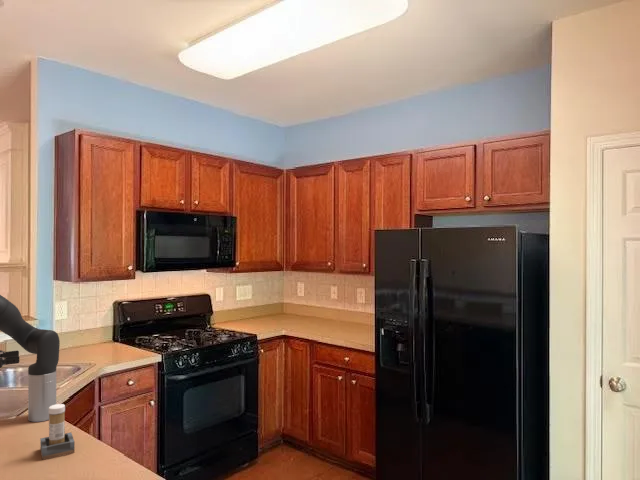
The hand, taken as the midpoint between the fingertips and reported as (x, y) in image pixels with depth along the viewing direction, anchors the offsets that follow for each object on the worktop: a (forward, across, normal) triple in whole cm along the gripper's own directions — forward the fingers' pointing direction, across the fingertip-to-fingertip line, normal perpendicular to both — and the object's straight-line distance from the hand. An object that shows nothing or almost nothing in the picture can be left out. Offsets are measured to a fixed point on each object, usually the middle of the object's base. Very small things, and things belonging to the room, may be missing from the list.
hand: (19, 356), depth 152 cm
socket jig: (+10, -8, +30) cm, 32 cm away
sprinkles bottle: (+10, -8, +29) cm, 32 cm away
